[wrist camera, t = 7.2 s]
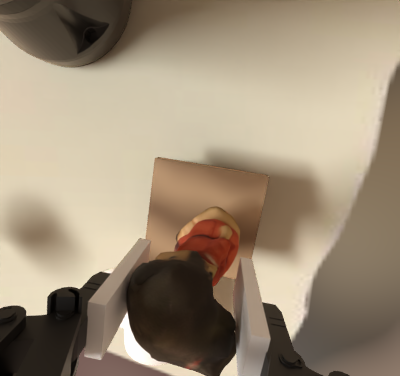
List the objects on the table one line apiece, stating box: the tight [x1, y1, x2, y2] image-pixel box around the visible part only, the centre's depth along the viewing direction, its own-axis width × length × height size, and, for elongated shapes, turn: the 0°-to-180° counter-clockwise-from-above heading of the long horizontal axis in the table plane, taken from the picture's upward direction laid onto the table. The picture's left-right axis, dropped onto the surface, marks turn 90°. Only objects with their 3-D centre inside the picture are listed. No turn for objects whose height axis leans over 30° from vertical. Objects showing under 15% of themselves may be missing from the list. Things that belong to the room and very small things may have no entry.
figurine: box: [126, 206, 240, 376], centre depth 16 cm, size 6×6×12 cm
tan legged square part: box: [146, 157, 269, 279], centre depth 28 cm, size 11×11×6 cm
